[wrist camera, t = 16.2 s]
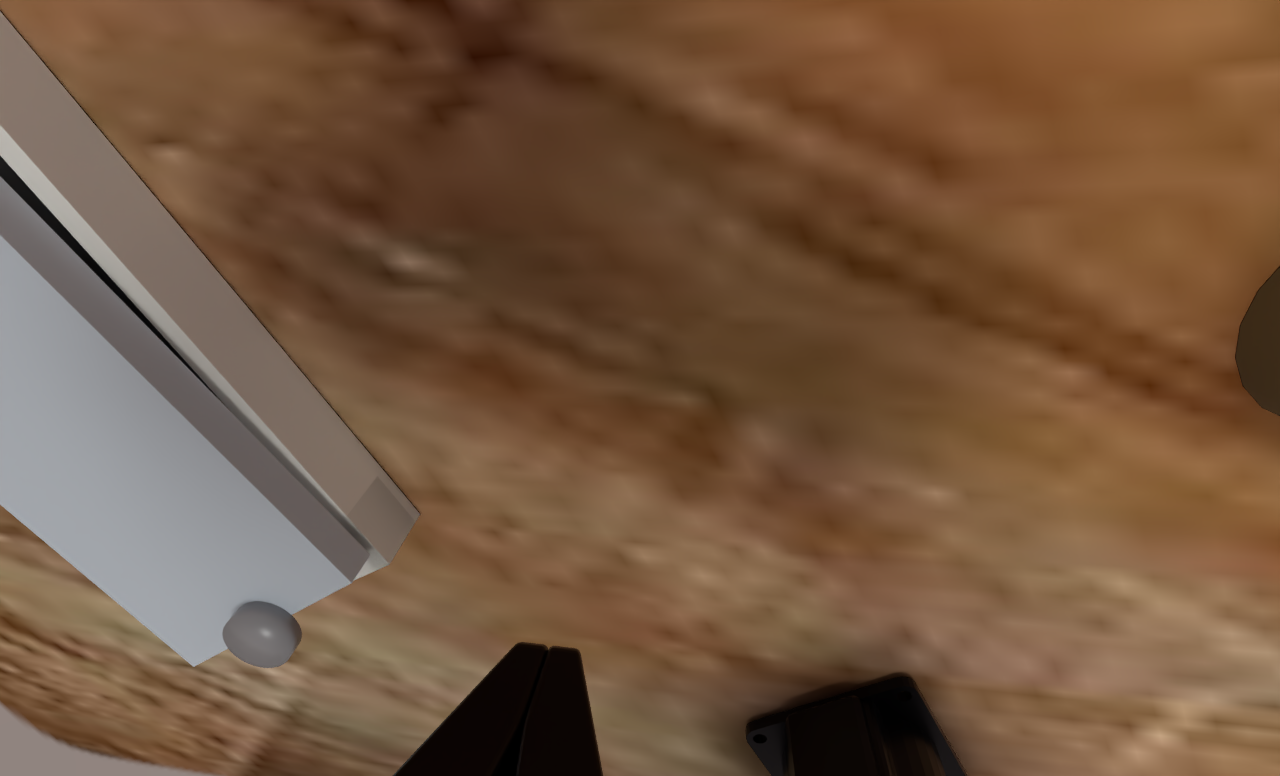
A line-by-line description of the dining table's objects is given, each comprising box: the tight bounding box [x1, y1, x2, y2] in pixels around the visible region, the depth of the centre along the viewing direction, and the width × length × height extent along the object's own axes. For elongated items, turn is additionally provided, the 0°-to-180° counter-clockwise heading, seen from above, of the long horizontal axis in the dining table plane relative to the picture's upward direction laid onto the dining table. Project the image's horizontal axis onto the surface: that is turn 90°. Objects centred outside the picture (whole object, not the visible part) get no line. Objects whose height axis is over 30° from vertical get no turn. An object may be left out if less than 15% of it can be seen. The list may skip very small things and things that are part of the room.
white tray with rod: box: [0, 12, 420, 581], centre depth 20 cm, size 19×7×2 cm, turn 31°
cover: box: [0, 177, 370, 668], centre depth 17 cm, size 18×7×4 cm, turn 34°
